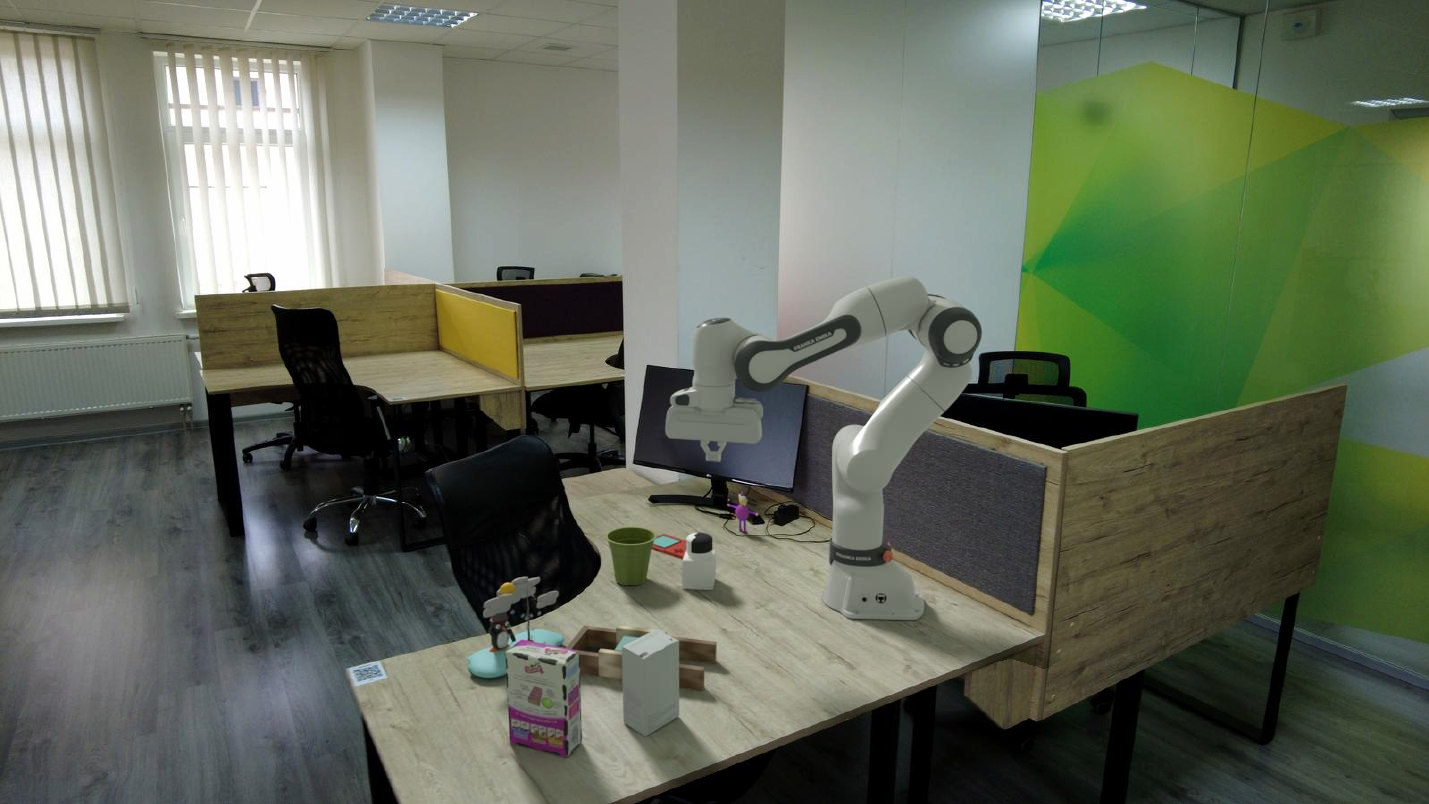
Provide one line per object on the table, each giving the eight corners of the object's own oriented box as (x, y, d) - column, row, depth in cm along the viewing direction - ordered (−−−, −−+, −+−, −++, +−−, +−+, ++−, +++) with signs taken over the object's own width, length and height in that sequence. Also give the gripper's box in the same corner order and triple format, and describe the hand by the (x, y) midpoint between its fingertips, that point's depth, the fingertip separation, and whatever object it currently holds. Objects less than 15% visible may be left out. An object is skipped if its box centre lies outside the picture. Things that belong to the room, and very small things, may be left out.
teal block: (651, 660, 165) (651, 639, 164) (643, 674, 160) (642, 652, 159) (624, 657, 166) (623, 636, 165) (615, 671, 161) (614, 649, 160)
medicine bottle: (715, 578, 202) (716, 530, 200) (712, 591, 195) (713, 541, 193) (686, 576, 203) (686, 529, 201) (682, 589, 196) (682, 540, 194)
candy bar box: (583, 741, 139) (581, 649, 136) (568, 759, 134) (565, 664, 131) (525, 726, 143) (521, 637, 139) (508, 743, 138) (503, 651, 135)
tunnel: (716, 660, 165) (716, 637, 164) (702, 690, 154) (702, 665, 153) (584, 643, 171) (584, 620, 170) (563, 671, 160) (562, 647, 159)
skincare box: (657, 704, 150) (656, 626, 147) (681, 718, 146) (681, 638, 143) (621, 724, 144) (619, 644, 141) (645, 739, 140) (644, 656, 137)
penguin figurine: (484, 688, 155) (480, 611, 151) (455, 666, 162) (451, 592, 159) (574, 650, 168) (572, 579, 165) (544, 631, 176) (541, 563, 173)
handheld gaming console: (683, 557, 213) (640, 542, 222) (683, 561, 213) (640, 546, 222) (707, 546, 220) (664, 532, 229) (707, 550, 220) (664, 537, 229)
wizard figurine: (760, 536, 229) (761, 494, 227) (752, 539, 227) (753, 496, 224) (730, 525, 237) (731, 484, 234) (722, 528, 235) (723, 487, 232)
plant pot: (644, 593, 194) (644, 547, 191) (597, 586, 197) (596, 540, 195) (664, 573, 205) (664, 529, 202) (619, 567, 208) (618, 523, 206)
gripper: (765, 396, 177) (764, 459, 180) (671, 391, 181) (671, 453, 184) (760, 402, 171) (759, 468, 174) (662, 397, 175) (663, 461, 178)
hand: (713, 460), depth 179 cm, fingers closed
